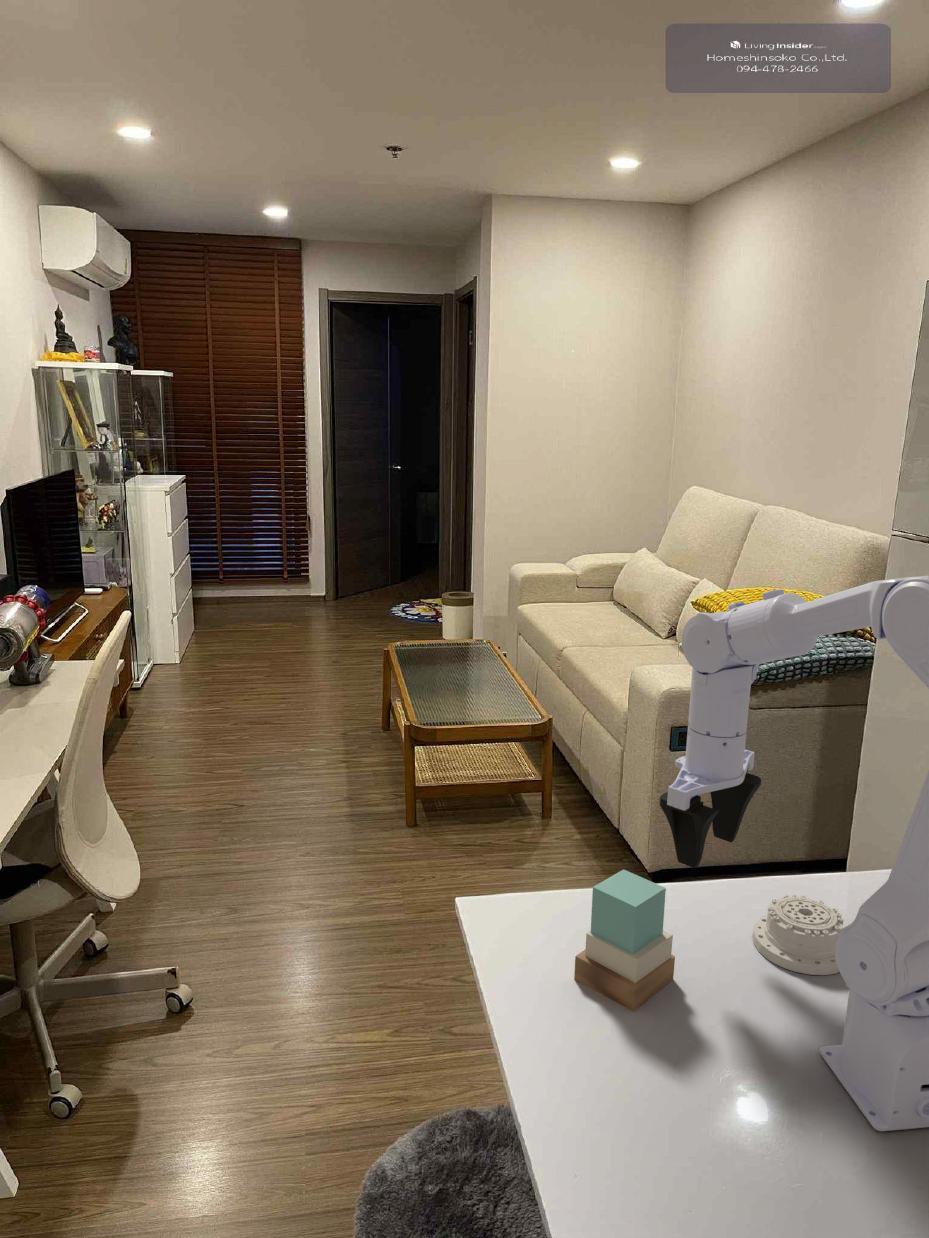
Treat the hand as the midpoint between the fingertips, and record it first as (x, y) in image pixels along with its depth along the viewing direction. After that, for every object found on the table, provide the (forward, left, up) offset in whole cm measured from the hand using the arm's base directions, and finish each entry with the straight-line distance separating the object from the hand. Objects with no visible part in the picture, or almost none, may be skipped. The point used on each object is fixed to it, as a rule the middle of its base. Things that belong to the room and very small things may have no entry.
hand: (706, 850), depth 97 cm
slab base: (-6, +10, -11) cm, 16 cm away
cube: (-6, +10, -5) cm, 13 cm away
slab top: (-6, +10, -8) cm, 14 cm away
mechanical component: (-3, -10, -11) cm, 15 cm away
